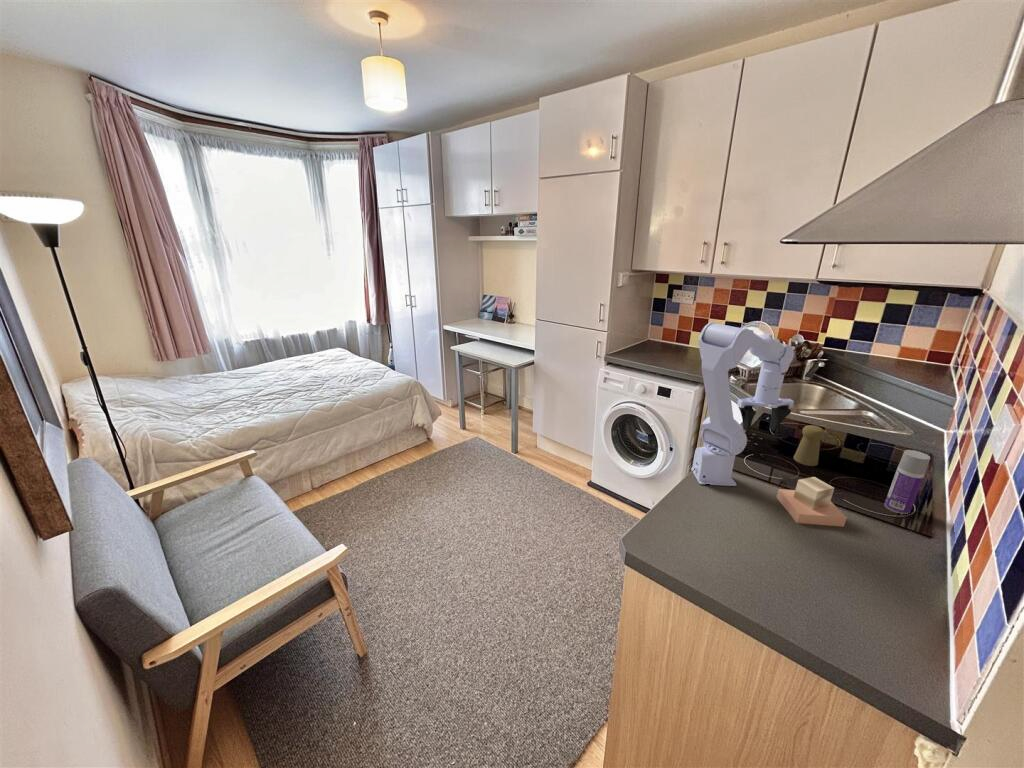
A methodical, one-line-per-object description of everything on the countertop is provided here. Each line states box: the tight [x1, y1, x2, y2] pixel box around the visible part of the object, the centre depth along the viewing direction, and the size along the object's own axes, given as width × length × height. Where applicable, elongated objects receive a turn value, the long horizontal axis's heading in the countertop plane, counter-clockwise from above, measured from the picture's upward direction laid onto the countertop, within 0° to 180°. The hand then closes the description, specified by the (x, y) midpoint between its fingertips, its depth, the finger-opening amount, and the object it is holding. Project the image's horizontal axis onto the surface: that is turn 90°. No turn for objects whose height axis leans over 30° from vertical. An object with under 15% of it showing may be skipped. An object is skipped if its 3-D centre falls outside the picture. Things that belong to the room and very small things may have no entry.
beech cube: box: [794, 476, 835, 510], centre depth 97 cm, size 5×5×5 cm
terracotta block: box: [776, 488, 848, 528], centre depth 98 cm, size 10×10×3 cm
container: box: [883, 449, 931, 515], centre depth 97 cm, size 5×5×15 cm
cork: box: [793, 424, 825, 467], centre depth 119 cm, size 6×6×11 cm
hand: (759, 429), depth 117 cm, fingers open, 7 cm apart
